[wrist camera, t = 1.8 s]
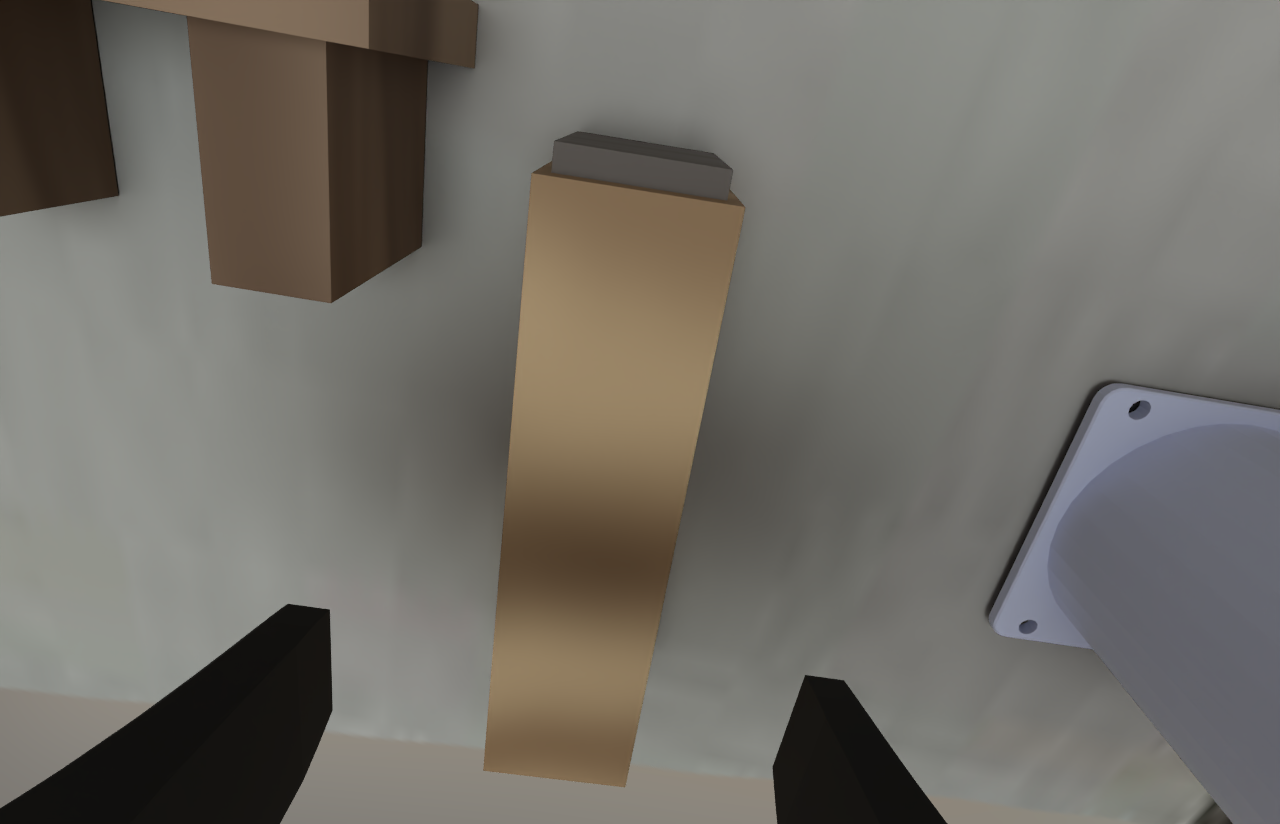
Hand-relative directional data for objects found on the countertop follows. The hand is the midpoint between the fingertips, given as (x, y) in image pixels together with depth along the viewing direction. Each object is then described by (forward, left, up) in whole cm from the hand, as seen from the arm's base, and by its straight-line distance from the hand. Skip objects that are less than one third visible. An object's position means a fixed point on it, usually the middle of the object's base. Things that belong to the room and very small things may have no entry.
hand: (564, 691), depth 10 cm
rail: (0, 0, -9) cm, 9 cm away
